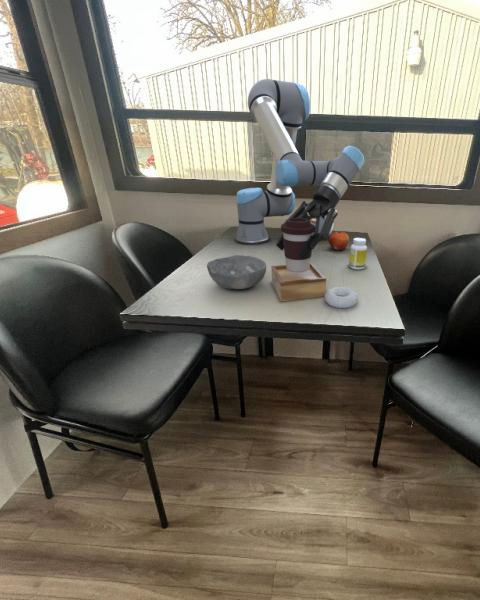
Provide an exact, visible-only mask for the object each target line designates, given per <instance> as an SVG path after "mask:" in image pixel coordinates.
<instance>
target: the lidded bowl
mask: <svg viewBox="0 0 480 600" xmlns="http://www.w3.org/2000/svg"><path fill="white" fill-rule="evenodd" d="M325 219H326V217H325ZM310 223H311V224H313V225H314V226H315V224H316V219H313V218H312V219H311V220H310ZM334 224H335V221H334V222H333V224H332V227H331V230H330V233H329V235H328V237H330V236H331V235H332V234H333V230H334V226H335V225H334ZM324 234H325V233H324Z"/></svg>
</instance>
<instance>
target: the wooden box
mask: <svg viewBox="0 0 480 600" xmlns="http://www.w3.org/2000/svg"><path fill="white" fill-rule="evenodd" d="M270 268H271V269H270V271H271V284H272V286H273V288H274V290H275V292H276V294H277V296H278V299H279V300H280V302H288V301H289V302H290V301H297V300H306V299H313V298H323V297H325V293H326V292H327V278H326V276H325V275H324V274H323V273H322V272H321V271H320V270H319V269H318V268H317V267H316V266H315V264H314V263H313V262H310V268H309V270H307V271H305V272H291V271H289V270H287V268H286V264H281V265H271V267H270Z"/></svg>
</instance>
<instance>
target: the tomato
mask: <svg viewBox="0 0 480 600" xmlns="http://www.w3.org/2000/svg"><path fill="white" fill-rule="evenodd" d="M349 242H350V237H349V235H348V234H347V233H346V232H344V231H342V230H339V231H335V232H332V233H331V234H330V235H329V236H328V244H329V246H330V247H331V248H332V249H334V250H336V251H341V250H345V249H346V248H347V247H348V245H349Z"/></svg>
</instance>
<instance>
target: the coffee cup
mask: <svg viewBox="0 0 480 600" xmlns="http://www.w3.org/2000/svg"><path fill="white" fill-rule="evenodd" d="M288 218H289V217H288ZM288 218H287V219H286V220H285V221H286V222H285V221H284V223H282V224H281V225H280V232H282V234H283V236H284V237H283V245H284V249H283V255H284V258H285V265H286V268H287V270H289V271H291V272H305V271H307V270H309V268H310V263H311V257H312V254H313V253H312V252H313V249H312V250H311V252H310V253H309V255H308V256H307V258H306V259H303V258H302V257H301V256H300V255H299V253H300V251H301V250H302V248H303V247H304V245H305V244H306V242H307V240H308V239H309V237H310V236H311V235H312V236H313V237H314V235H313V233H314V231H315V226H314V225H313V224H311V223H310V220H308V219H305V218H289V219H288Z"/></svg>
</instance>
